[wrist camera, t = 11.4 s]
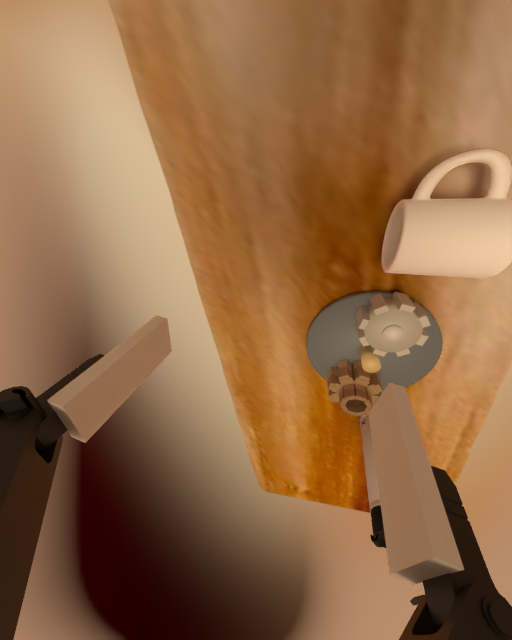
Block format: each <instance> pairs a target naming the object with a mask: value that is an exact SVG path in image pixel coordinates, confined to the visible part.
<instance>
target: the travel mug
mask: <svg viewBox="0 0 512 640" xmlns="http://www.w3.org/2000/svg"><path fill="white" fill-rule="evenodd" d="M359 419H360V428H361V437H362V445H363V454H364V463H365V471H366V480H367V488H368V497H369V505H370V513H371V518H372V527H373V536H372V535H371V540H372V541H373V542H374V544H375V545H376V546H377V547H385V548H386V541H385V534H384V526H383V519H382V511H381V504H380V496H379V489H378V481H377V474H376V466H375V459H374V451H373V444H372V436H371V429H370V421H369V414H367V415H363V416H359Z"/></svg>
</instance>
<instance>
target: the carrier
mask: <svg viewBox="0 0 512 640" xmlns="http://www.w3.org/2000/svg"><path fill="white" fill-rule="evenodd" d="M442 343H443V342H442V334H441V331H440V328H439V326H438V325H437V323H436V321H435V320H434V318H433V317H432V316H431V314H430V313H429V312H428V311H427V310H426V309H425V308H424V307H423V306H422V305H421V304H419V303H417V302H416V301H414V300H413V299H411V298H409V297H408V295H407V294H403V293H399V292H394V293H393V292H388V291H363V292H357V293H353V294H349V295H346V296H344V297H341V298H339V299H337V300H335V301H333V302H331V303H330V304H329V305H327V306H326V307H325V308H323V309H322V310H321V311H320V312H319V313H318V314H317V316H316V317H315V318H314V320H313V322H312V323H311V326H310V328H309V331H308V336H307V344H306V346H307V354H308V357H309V360H310V362H311V364H312V366H313V367H314V368H315V370H316V371H317V372H318V373H319V374H320V375H321V376H322V377H323V378H325V379H326V380H327V381H328V372H329V370H330V368H331V367H334V368H335V367H337V368H338V361H341V360H345V359H347V360H348V362H349V361H350V362H351V364H352V365H353V363H354V362H356V361H357V359H359V360H361V363H362V368H363V370H364V371H366V372H369V373H375V372H378V374H379V377H380V381H381V385H382V389H383V391H384V390H385V388H386V387H387V385H388V384H389V382H390V383H393V384H397V385H400V386H404V387H408V386H410V385H412V384H414V383H416V382H417V381H419V380H420V379H422V378H423V377H424V376H426V375H427V374H428V373H429V372H430V371H431V370H432V369H433V367H434V366H435V365H436V363H437V361H438V359H439V357H440V354H441V351H442ZM381 393H383V392H381Z"/></svg>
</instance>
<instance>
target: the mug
mask: <svg viewBox="0 0 512 640" xmlns="http://www.w3.org/2000/svg"><path fill="white" fill-rule="evenodd" d="M475 162H479V163H484V164H486V165H488V166H489V168H490V170H491V180H490V185H489V188H488V191H487V194H486V196H485V197H483V198H457V199H431V198H430V195H431V193H432V191H433V190H434V188H435V186H436V185H437V183H438V182H439V181H440V179H441V178H442V177H443V176H444V175H445V174H446V173H447V172H449V171H450V170H451V169H453V168H455V167H457V166H460V165H463V164H467V163H475ZM511 180H512V165H511V162H510V160H509V158H508V157H507V156H506V155H505V154H503V153H502V152H500V151H497V150H493V149H479V150H472V151H468V152H464V153H461V154H458V155H455V156H453V157H451V158H449V159H447V160H445V161H443V162H441V163H440V164H438V165H437V166H435V167H434V168H433V169H432V170H431V171H430V172H429V173H428V174H427V175H426V176H425V177H424V178H423V179H422V181H421V182H420V184H419V185H418V187H417V189H416V191H415V193H414V196H413V197H412V198H411V199H403V200H401V201H399V202H398V203H397V204H396V206H395V208H394V209H393V211H392V213H391V216H390V218H389V221H388V224H387V227H386V231H385V235H384V240H383V246H382V255H381V263H382V268H383V270H384V272H386V273H398V274H415V275H432V276H449V277H466V278H489V277H492V276H495V275H497V274H498V273H500V272H501V271H503V270H504V269H505V268H506V267H507V266H508V265H509V264H510V263H511V262H512V198H508V197H507V194H508V191H509V188H510V184H511Z"/></svg>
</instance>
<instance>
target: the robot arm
mask: <svg viewBox="0 0 512 640" xmlns="http://www.w3.org/2000/svg"><path fill="white" fill-rule="evenodd" d="M170 352H171V343H170V335H169V328H168V321H167V318H163V317H160V316H155V317H154V318H153V319H151V320H150V321H149V322H147V323H146V324H145V325H144V326H142V327H141V328H140V329H139V330H137V331H136V332H135V333H133V334H132V335H131V336H129V337H128V338H127V339H126V340H124V341H123V342H122V343H120V344H119V345H118V346H117V347H115V348H114V349H113V350H111V351H110V352H109V353H107V354H106V355H102V354H99V355H97V356H95V357H93V358H90V359H88V360H87V361H86V362H84V363H83V364H82V365H80V366H79V368H76V369H75V370H74V371H72V372H71V374H68V375H67V376H66V377H64V378H63V379H61V380H60V381H59V382H57V383H56V384H55V385H53V386H52V387H51V388H49V389H48V390H47V391H45V392H44V393H43V394H41V395H40V396H38V397H37V398H35V397H34V395H33V394H32V393H31V391H30V390H29V389H28V388H27V387H23V386H20V387H12V388H9V389H6V390H3V391H1V392H0V640H13V638H14V634H15V630H16V626H17V622H18V618H19V614H20V610H21V606H22V602H23V598H24V594H25V590H26V586H27V582H28V578H29V574H30V570H31V566H32V562H33V558H34V554H35V550H36V546H37V542H38V538H39V534H40V530H41V526H42V521H43V517H44V514H45V510H46V505H47V501H48V498H49V493H50V490H51V486H52V481H53V477H54V473H55V469H56V465H57V461H58V457H59V453H60V449H61V445H62V441H63V438H62V437H63V436H62V434H64V433H65V432H66V431H68V432H69V433H70V435H71V437H73V438H75V439H78V440H80V441H82V442H85V443H86V441H88V439H89V438H90V437H91V436H92V435H93V434H94V433H95V432H96V431H97V430H98V429H99V428H100V427H101V426H102V425H103V423H104V422H105V421H106V420H107V419H108V418H109V417H110V416H111V415H112V414H113V413H114V412H115V411H116V410H117V409H118V408H119V407H120V405H121V404H122V403H123V402H124V401H125V400H126V399H127V398H128V397H129V396H130V395H131V394H132V393H133V392H134V391H135V390H136V389H137V387H138V386H139V385H140V384H141V383H142V382H143V381H144V380H145V379H146V378H147V377H148V376H149V375H150V374H151V373H152V371H153V370H154V369H155V368H156V367H157V366H158V365H159V364H160V363H161V362H162V361H163V360H164V359H165V358H166V357H167V356H168V355H169V353H170ZM368 414H369V421H370V429H371V436H372V444H373V451H374V459H375V466H376V474H377V481H378V489H379V496H380V504H381V511H382V519H383V526H384V534H385V541H386V549H387V556H388V564H389V571H390V575H392V576H395V577H397V578H399V579H401V580H404V581H406V582H408V583H411V584H417V583H420V582H423V585H424V590H425V595H421V596H417V597H414V598H413V599H412V600H411V601H410V602H411V603H412V604H413V605H417V604H418V606H417V608H416V610H415V611H414V613H413V615H412V617H411V619H410V621H409V622H408V624H407V626H406V628H405V629H404V631H403V633H402V635H401V637H400V639H399V640H512V607H511V605H510V604H509V603H508V602H507V600H506V599H505V598H503V596H501V595H500V594H499V593H498V591H497V589H496V588H495V586H494V583H493V581H492V579H491V577H490V574H489V572H488V569H487V567H486V564H485V561H484V559H483V556H482V553H481V551H480V548H479V546H478V543H477V541H476V538H475V535H474V533H473V530H472V527H471V525H470V522H469V521H468V520H467V518H468V517H467V514H466V512H465V509H464V507H462V501H461V499H460V496H459V493H458V491H457V488H456V486H455V485H454V483H453V482H452V480H451V479H450V477H449V476H448V474H447V473H446V472H445V470H442V469H439V468H436V467H433V466H431V465H430V462H429V459H428V456H427V453H426V450H425V447H424V444H423V440H422V437H421V434H420V431H419V428H418V425H417V422H416V419H415V416H414V413H413V410H412V407H411V403H410V400H409V397H408V394H407V391H406V388H405V387H404V386H400V385H397V384H393V383H390V382H389V384H388V385H387V387H386V388H385V390H384V391H383V393H382V394H381V395H380V397H379V398H378V400H377V401H376V403H375V404H374V406H373V407H372V409H371V410H370V412H369V413H368Z"/></svg>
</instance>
